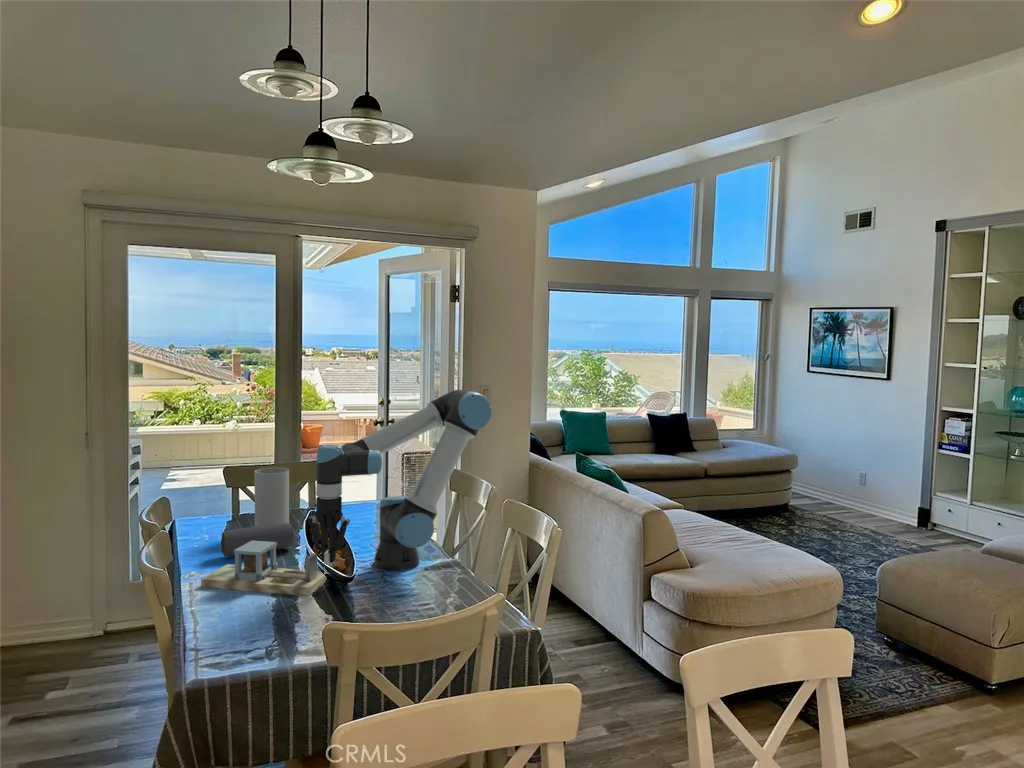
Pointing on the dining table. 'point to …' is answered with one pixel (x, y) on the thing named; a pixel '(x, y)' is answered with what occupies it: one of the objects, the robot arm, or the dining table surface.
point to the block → (254, 562)
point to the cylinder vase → (271, 496)
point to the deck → (264, 582)
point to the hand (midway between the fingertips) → (328, 572)
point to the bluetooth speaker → (257, 537)
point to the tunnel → (258, 550)
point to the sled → (308, 576)
